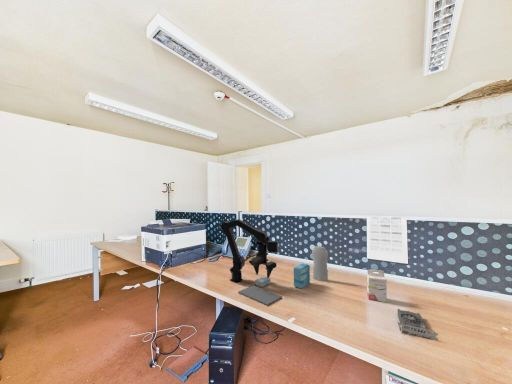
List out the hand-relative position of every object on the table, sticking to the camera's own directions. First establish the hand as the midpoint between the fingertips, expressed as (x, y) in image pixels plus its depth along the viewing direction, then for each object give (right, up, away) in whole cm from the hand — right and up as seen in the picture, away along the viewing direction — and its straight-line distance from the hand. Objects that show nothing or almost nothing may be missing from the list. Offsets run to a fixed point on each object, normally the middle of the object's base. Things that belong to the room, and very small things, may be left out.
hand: (262, 276), depth 139 cm
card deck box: (0, -5, 0) cm, 5 cm away
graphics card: (+63, -3, -47) cm, 78 cm away
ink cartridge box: (+60, -4, -23) cm, 64 cm away
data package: (+24, -4, -4) cm, 25 cm away
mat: (-2, -4, -17) cm, 18 cm away
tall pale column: (+38, -4, +5) cm, 39 cm away
